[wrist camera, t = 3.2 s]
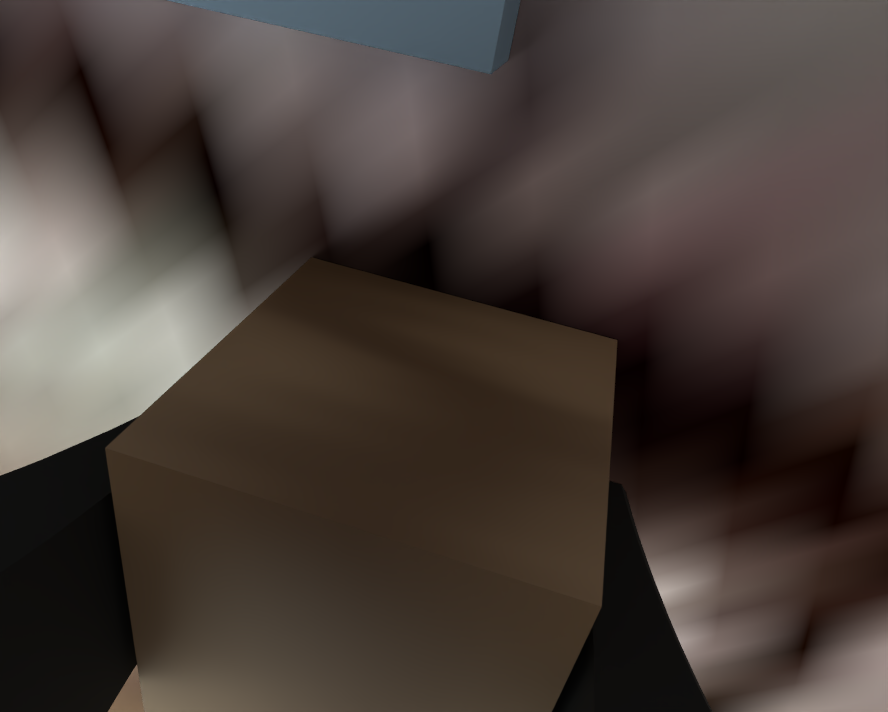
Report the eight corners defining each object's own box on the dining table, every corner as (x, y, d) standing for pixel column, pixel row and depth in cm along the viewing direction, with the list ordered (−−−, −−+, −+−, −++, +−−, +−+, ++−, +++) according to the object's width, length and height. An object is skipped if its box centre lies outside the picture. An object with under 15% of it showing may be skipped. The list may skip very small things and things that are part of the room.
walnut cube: (297, 480, 13) (145, 714, 9) (311, 257, 11) (105, 447, 7) (538, 556, 13) (489, 843, 9) (617, 340, 10) (601, 605, 6)
